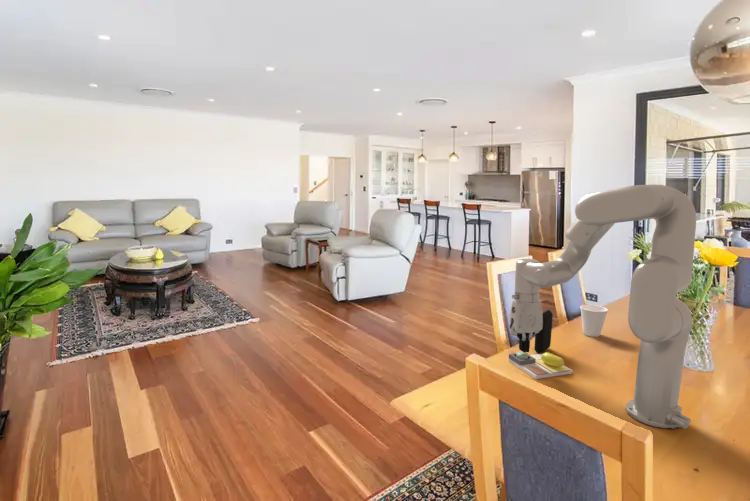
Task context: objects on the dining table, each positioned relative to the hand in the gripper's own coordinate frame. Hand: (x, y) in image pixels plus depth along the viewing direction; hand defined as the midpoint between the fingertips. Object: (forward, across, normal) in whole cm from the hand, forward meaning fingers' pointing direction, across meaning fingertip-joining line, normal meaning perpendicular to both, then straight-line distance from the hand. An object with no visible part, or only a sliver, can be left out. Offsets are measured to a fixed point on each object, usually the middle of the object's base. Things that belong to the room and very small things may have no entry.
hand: (524, 350), depth 142 cm
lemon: (+4, +7, -5) cm, 9 cm away
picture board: (+5, +4, -3) cm, 7 cm away
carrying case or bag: (+5, +13, +7) cm, 15 cm away
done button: (+3, 0, +1) cm, 3 cm away
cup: (+5, +44, +16) cm, 47 cm away
